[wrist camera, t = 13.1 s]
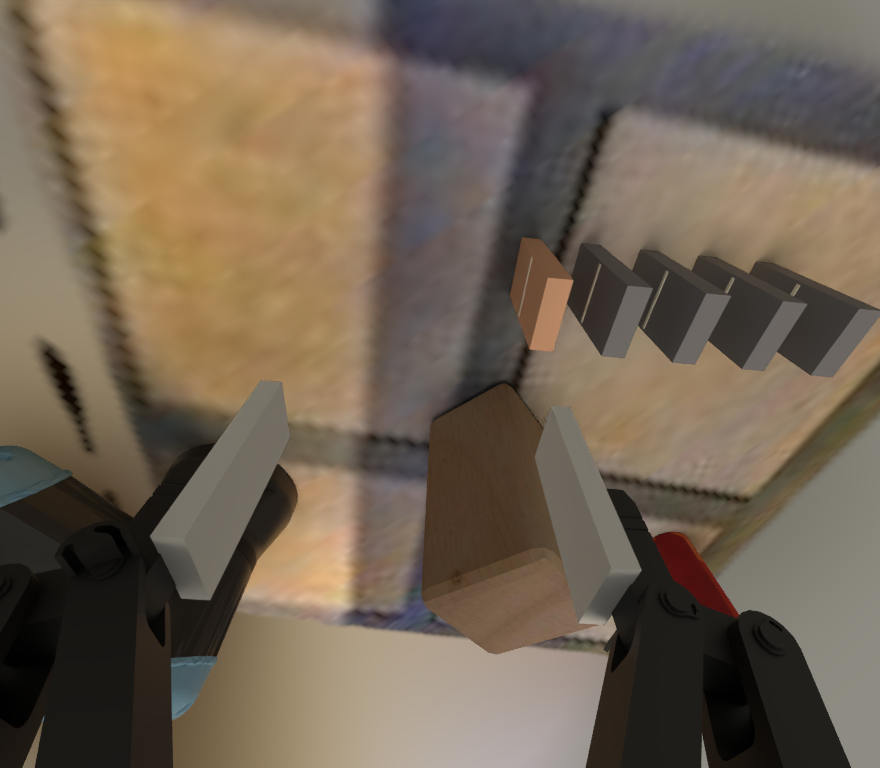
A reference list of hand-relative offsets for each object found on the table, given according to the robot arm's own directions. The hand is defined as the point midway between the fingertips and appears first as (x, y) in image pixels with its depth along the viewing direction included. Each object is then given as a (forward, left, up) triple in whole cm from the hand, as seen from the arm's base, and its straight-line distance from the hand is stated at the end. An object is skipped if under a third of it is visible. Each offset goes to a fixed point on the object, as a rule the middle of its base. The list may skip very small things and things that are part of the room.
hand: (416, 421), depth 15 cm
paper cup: (+36, -36, -22) cm, 55 cm away
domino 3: (+23, 0, -22) cm, 32 cm away
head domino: (+8, 0, -22) cm, 23 cm away
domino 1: (+13, 0, -22) cm, 25 cm away
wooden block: (+8, -18, -22) cm, 29 cm away
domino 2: (+18, 0, -22) cm, 28 cm away
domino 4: (+28, 0, -22) cm, 35 cm away
